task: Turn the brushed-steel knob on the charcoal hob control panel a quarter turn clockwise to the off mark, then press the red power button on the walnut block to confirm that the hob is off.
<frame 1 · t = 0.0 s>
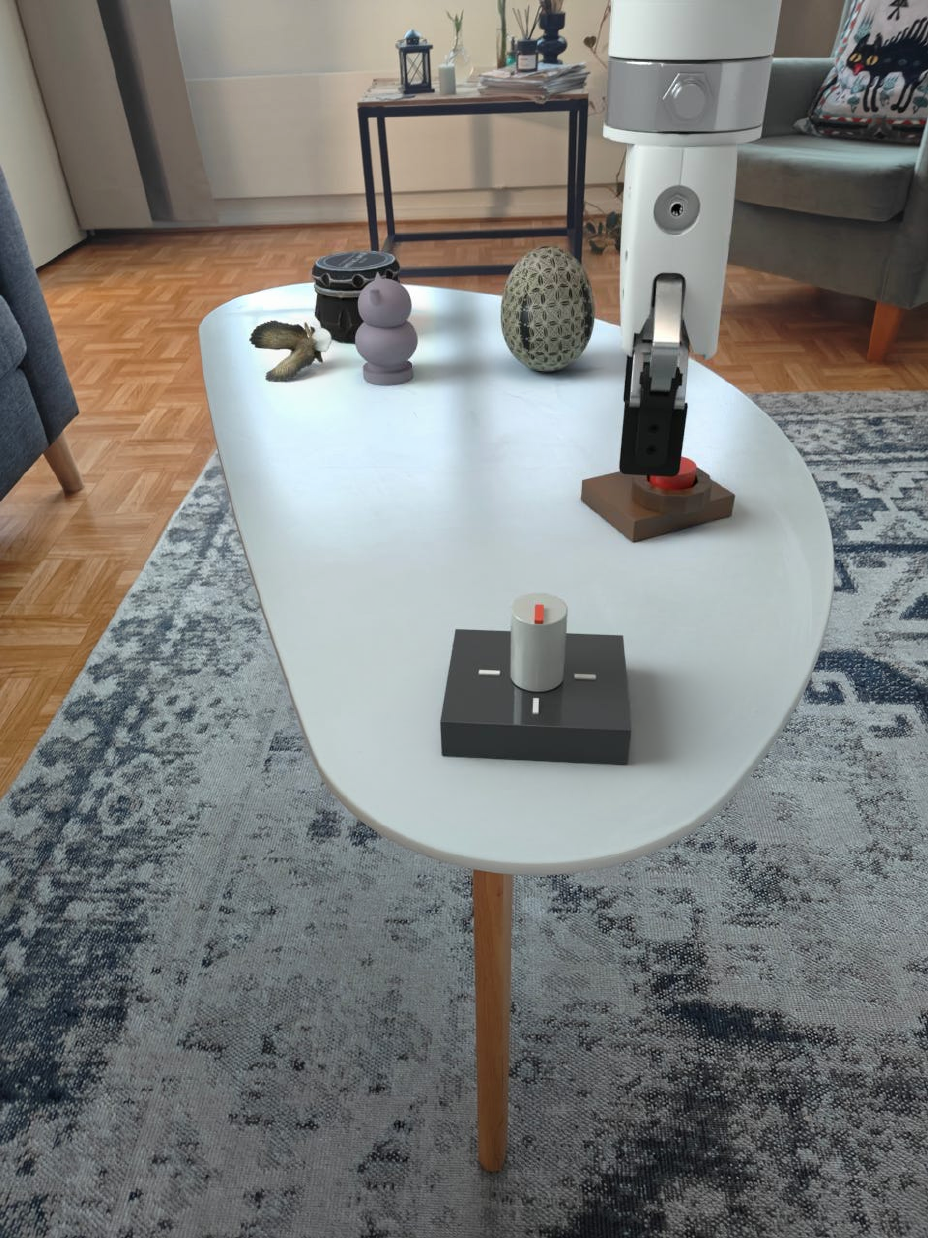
hand: (648, 436, 53), 19 cm above the table, tool pointing down, fingers open, 9 cm apart
decorative egg: (545, 370, 116), on the table
hob panel: (535, 709, 62), on the table
hob knob: (538, 640, 59), point 6 cm above the table, hinge at 90.0°
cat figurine: (389, 377, 115), on the table
container: (361, 332, 130), on the table
power block: (654, 507, 85), on the table
power button: (672, 473, 81), point 4 cm above the table, slide at 0.1 cm
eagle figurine: (296, 371, 118), on the table
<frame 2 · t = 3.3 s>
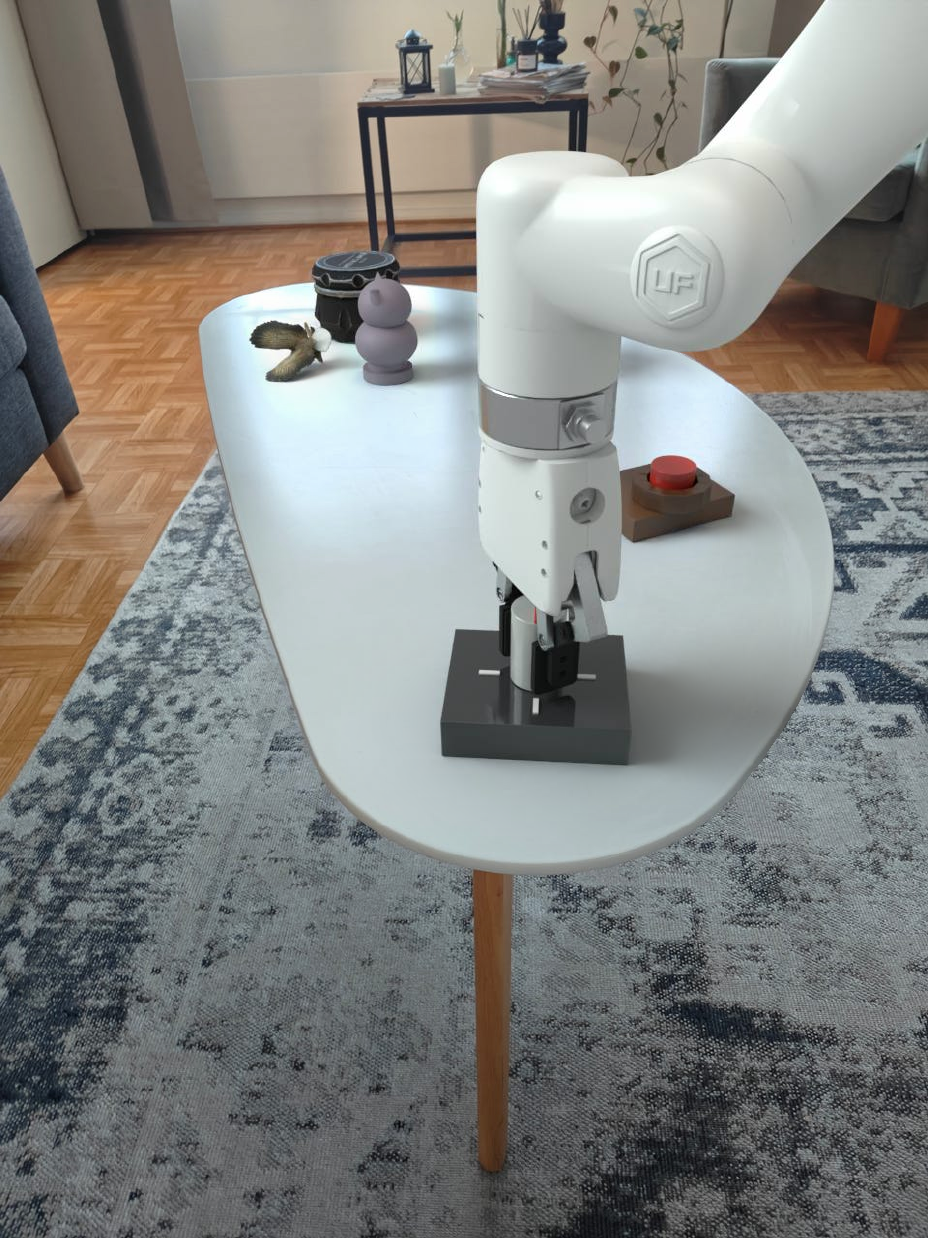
hand: (537, 665, 60), 4 cm above the table, tool pointing down, fingers closed on hob knob, 3 cm apart
hob knob: (538, 640, 59), point 6 cm above the table, hinge at 89.8°, touching gripper
everything else where it was.
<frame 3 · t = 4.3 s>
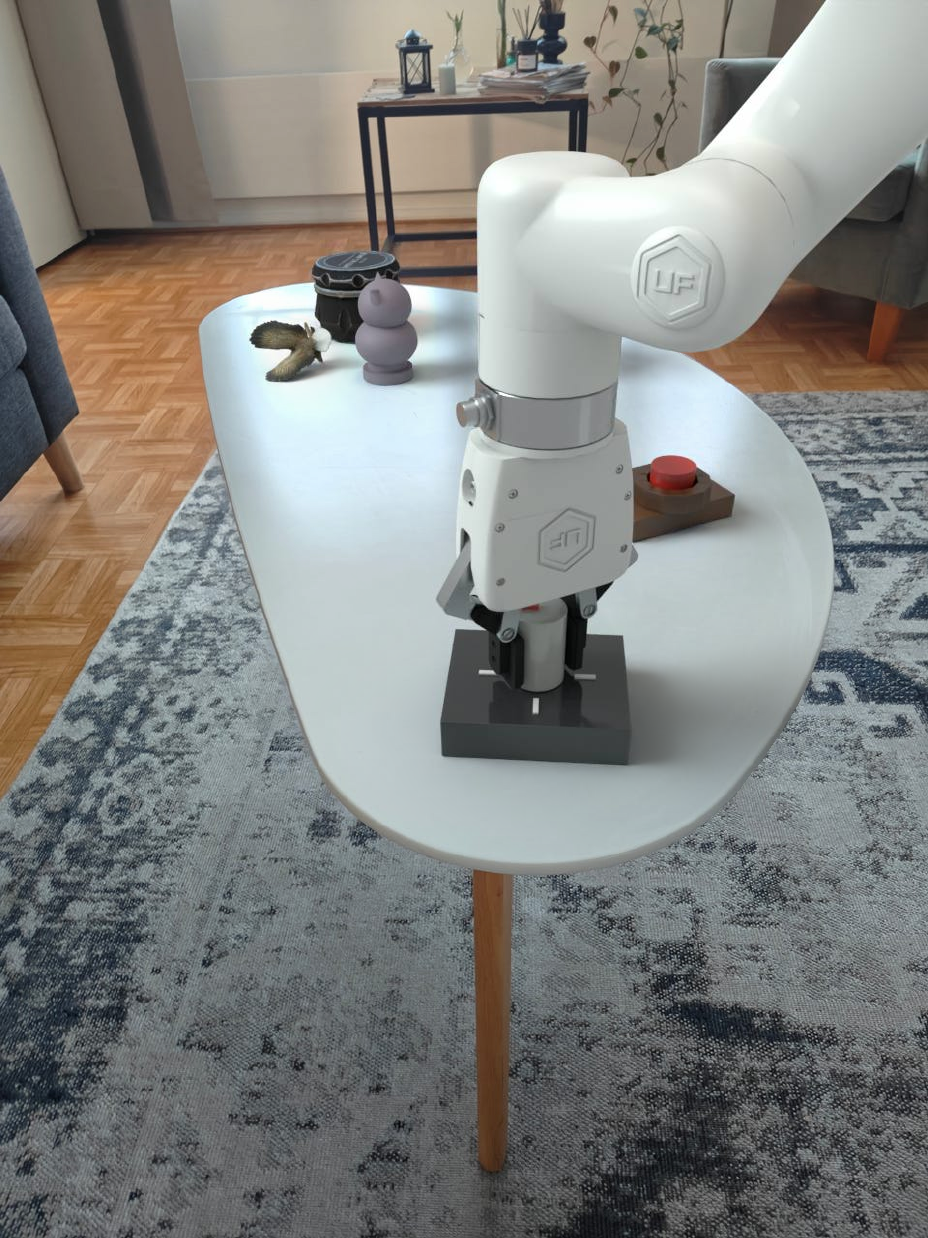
hand: (537, 665, 60), 4 cm above the table, tool pointing down, fingers closed on hob knob, 3 cm apart
hob knob: (538, 640, 59), point 6 cm above the table, hinge at -0.4°, touching gripper
everything else where it was.
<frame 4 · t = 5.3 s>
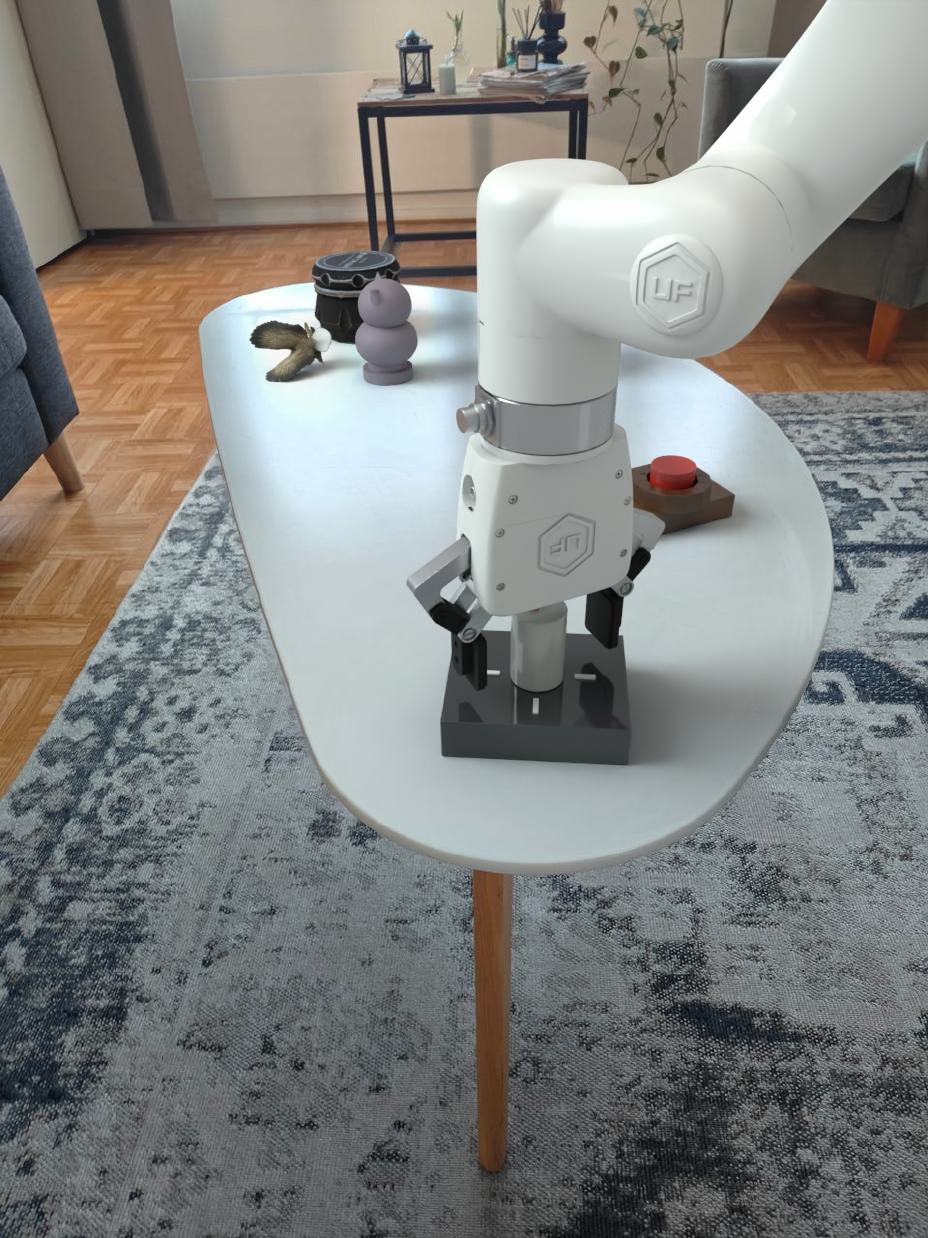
hand: (537, 657, 59), 5 cm above the table, tool pointing down, fingers open, 9 cm apart
hob knob: (538, 640, 59), point 6 cm above the table, hinge at 1.4°
everything else where it was.
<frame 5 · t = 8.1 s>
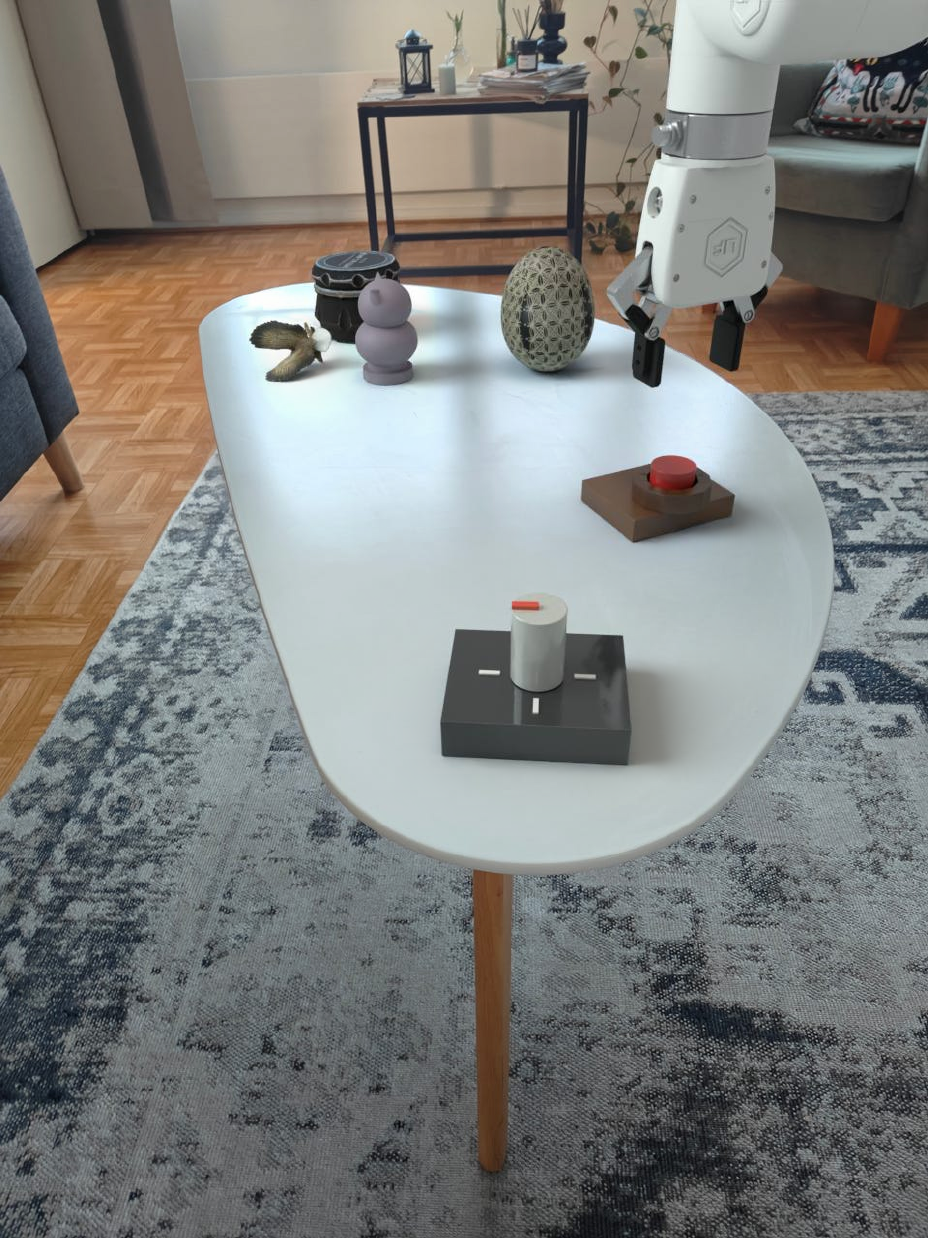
hand: (685, 372, 76), 14 cm above the table, tool pointing down, fingers open, 7 cm apart
nothing on the table moved.
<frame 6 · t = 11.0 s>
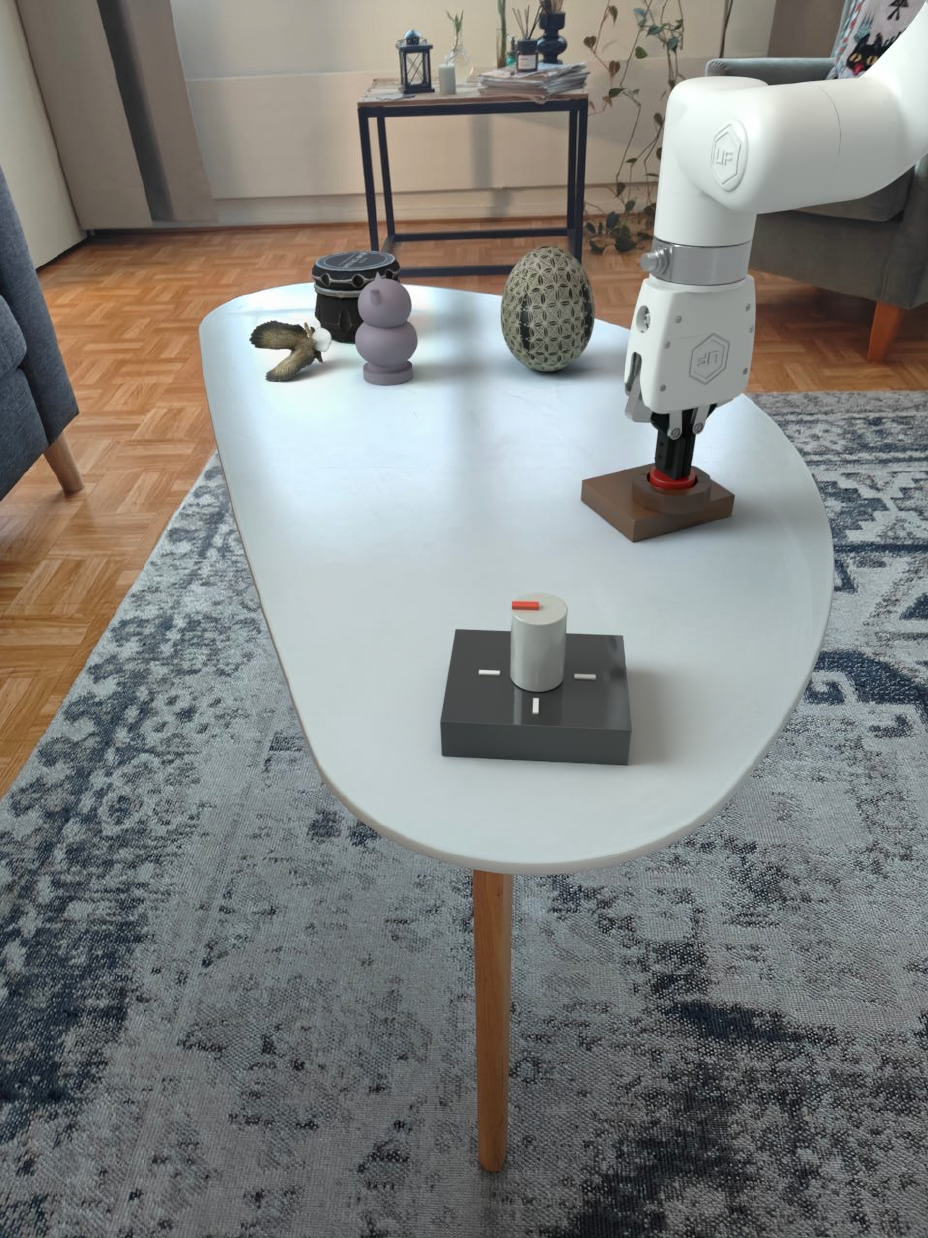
hand: (671, 471, 81), 5 cm above the table, tool pointing down, fingers closed
power button: (671, 481, 82), point 4 cm above the table, slide at -0.7 cm, touching gripper
everything else where it was.
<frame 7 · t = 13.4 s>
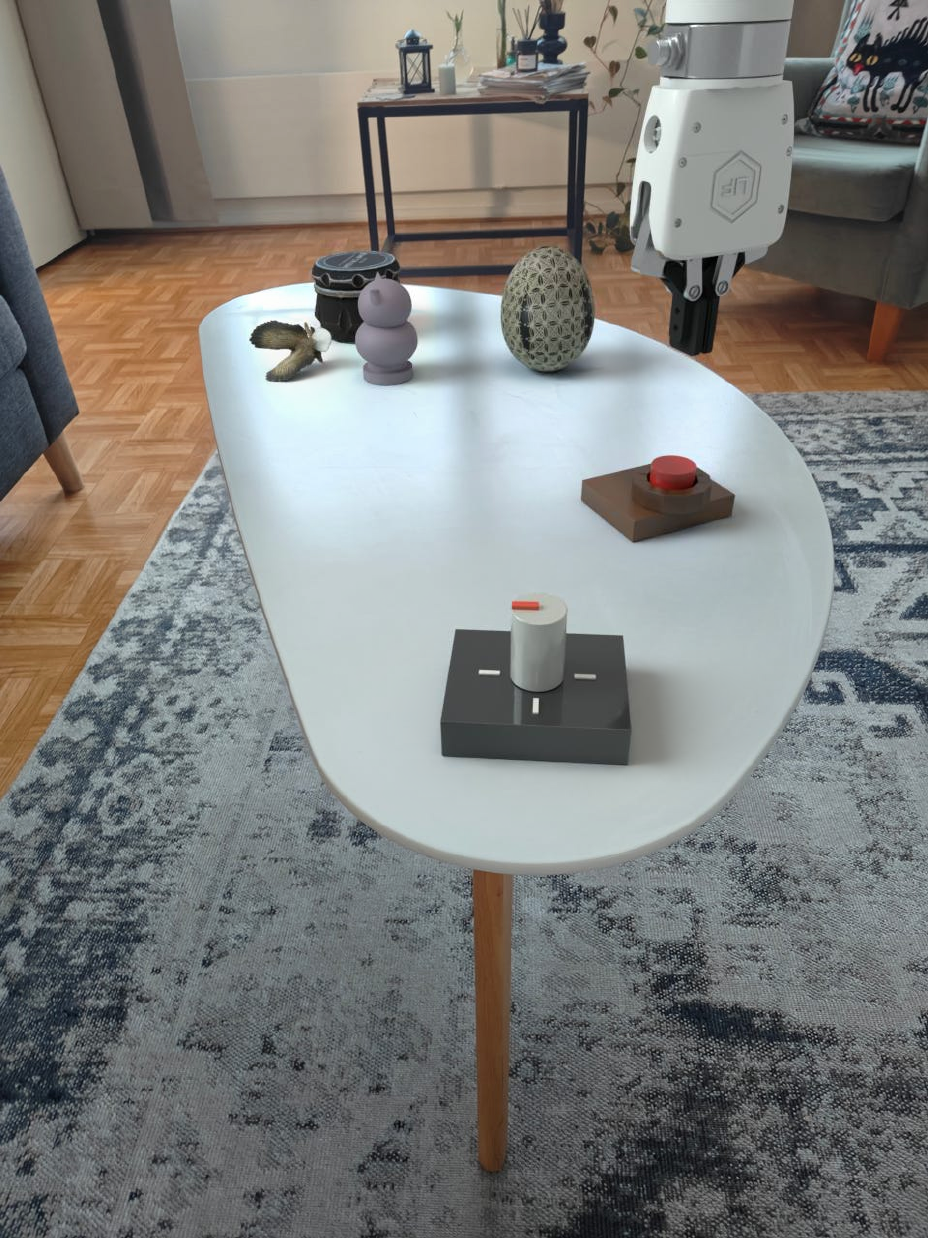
hand: (690, 348, 66), 19 cm above the table, tool pointing down, fingers closed
power button: (672, 473, 81), point 4 cm above the table, slide at 0.1 cm
everything else where it was.
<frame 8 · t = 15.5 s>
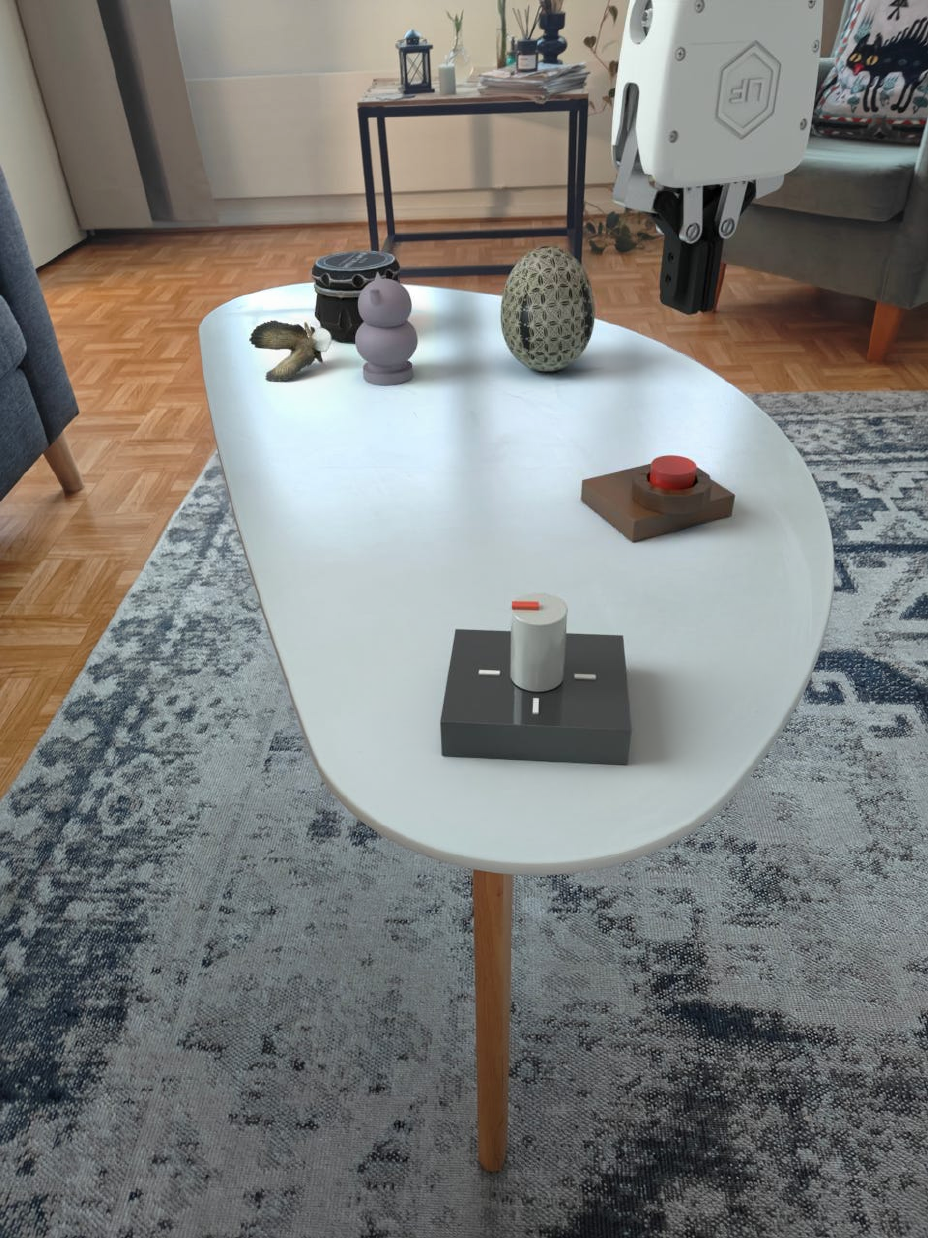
hand: (685, 306, 53), 25 cm above the table, tool pointing down, fingers closed
nothing on the table moved.
at the end: hob knob at +1° (first picture: +90°); power button pushed in 1.1 cm at the most during the clip, back to where it started at the end; power button slide at 0.1 cm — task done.
